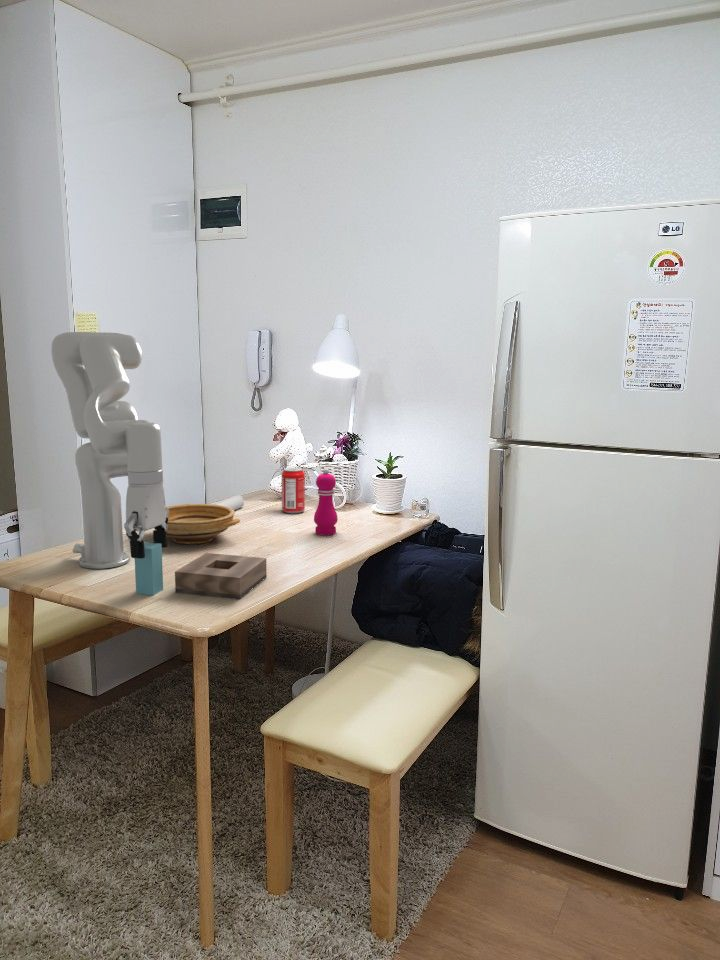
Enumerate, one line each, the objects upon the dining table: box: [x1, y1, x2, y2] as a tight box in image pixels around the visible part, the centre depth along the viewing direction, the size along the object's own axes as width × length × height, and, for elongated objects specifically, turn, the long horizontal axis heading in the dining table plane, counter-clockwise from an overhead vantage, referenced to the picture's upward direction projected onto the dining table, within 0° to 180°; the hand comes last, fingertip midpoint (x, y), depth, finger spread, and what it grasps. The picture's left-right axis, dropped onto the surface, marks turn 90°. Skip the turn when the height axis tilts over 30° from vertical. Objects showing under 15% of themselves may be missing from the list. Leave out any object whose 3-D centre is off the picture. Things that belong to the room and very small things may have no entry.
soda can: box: [281, 467, 306, 515], centre depth 248 cm, size 8×8×15 cm
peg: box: [134, 541, 164, 596], centre depth 167 cm, size 4×4×11 cm
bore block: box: [174, 552, 268, 600], centre depth 172 cm, size 16×16×5 cm
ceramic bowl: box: [165, 503, 241, 544], centre depth 213 cm, size 30×24×8 cm
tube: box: [212, 494, 245, 511], centre depth 245 cm, size 5×5×25 cm
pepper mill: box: [313, 467, 338, 536], centre depth 220 cm, size 7×7×20 cm
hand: (149, 552), depth 165 cm, fingers open, 9 cm apart
